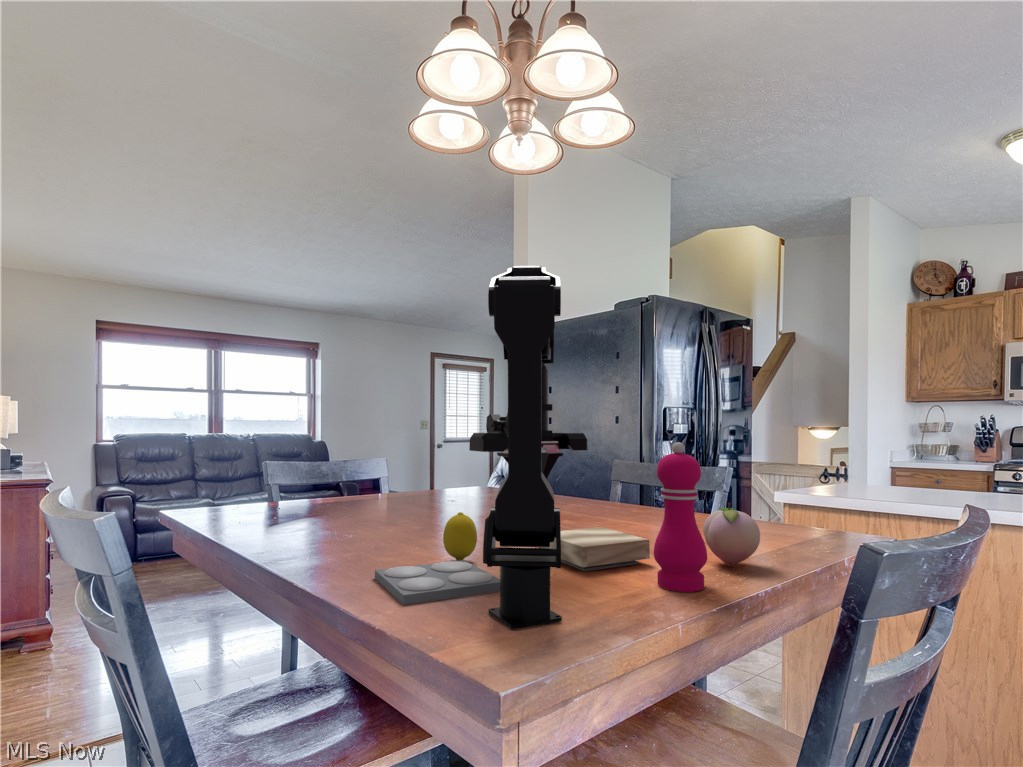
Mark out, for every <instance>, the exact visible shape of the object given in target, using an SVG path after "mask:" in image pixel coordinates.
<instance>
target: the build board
mask: <svg viewBox="0 0 1023 767" xmlns="http://www.w3.org/2000/svg"><path fill="white" fill-rule="evenodd" d="M374 579H375V580H376V581H377V582H378V583H379V584H380V585H381V586H382V587H383V588H384V587H385V588H384V589H386V591H388V593H390V595H391V596H393V597H394V598H395V599H396V600H397V601H398V602H399V603H401V605H402V606H407V605H413V604H421V603H427V602H429V603H430V602H436V601H441V600H450V599H456V598H463V597H470V596H478V595H483V594H484V595H485V594H491V593H498V592H499V593H500V577H499V578H498V577H497V576H495V575H493V574H491V573H489V572H488V571H486V570H483V569H481V568H480V567H478V566H477V565H474V564H472V563H471V562H468V561H467V560H465V559H464V560H460V561H457V560H454V561H453V560H448V561H440V562H436V563H426V564H416V565H403V566H396V567H390V568H381V569H375V570H374Z"/></svg>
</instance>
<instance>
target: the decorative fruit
mask: <svg viewBox="0 0 1023 767" xmlns="http://www.w3.org/2000/svg"><path fill="white" fill-rule="evenodd" d="M702 533H703V536H704V537H703V538H704V539H705V542H706V543H705V544H706V545H707V547H708V548H709V550H710V551H711V552H712V553H713V554H714V556H715V557H717V558H718V559H720V560H721V561H722V562H723V563H724V564H725V565H727V566H730V567H732V566H734V565H737V564H738V563H742V562H743V561H746V560H747V559H749V558H750V557H751V556H752V555H754V554H755V553H756V551H757V550H758V548H759V546H760V542H761V531H760V528H759V526H758V524H757V522H756V521H755V519H754V518H752V517H751V516H750V515H749V514H747V512H743V511H741V510H740V511H739V510H736V509H734V508H732V507H731V503H730V502H727V507H720V509H718V510H716V511H713V512H712V513H710V514H709V515H708V516H707V518H706V519H705V521H704V524H703V527H702Z"/></svg>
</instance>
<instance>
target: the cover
mask: <svg viewBox="0 0 1023 767" xmlns="http://www.w3.org/2000/svg"><path fill="white" fill-rule="evenodd" d="M560 531H561V559H562V560H565V561H567V562H570V563H573V564H575V565H578V566H581V567H589V566H597V565H605V564H612V563H620V562H628V561H640V560H649V559H651V558H650V556H651V555H650V548H651V547H650V538H649V539H648V538H644V537H640V536H637V535H633V534H630V533H626V532H621V531H618V530H615V529H610V528H606V527H602V526H600V527H599V526H596V527H590V528H589V527H587V528H577V529H576V528H575V529H568V530H567V529H566V530H560ZM538 548H544V547H538ZM550 548H556V543H555V538H554V541H553V542H550Z"/></svg>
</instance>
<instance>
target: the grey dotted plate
mask: <svg viewBox="0 0 1023 767" xmlns="http://www.w3.org/2000/svg"><path fill="white" fill-rule="evenodd" d="M561 563H562V564H566V565H567V566H570V567H573V568H574V569H575V568H576V569H579V570H580V571H582V572H583V571H584V572H589V571H596V570H597V571H598V570H605V569H611V568H620V567H626V566H627V567H628V566H634V565H635V566H636V565H638V564H639V560H635V561H628V562H620V563H612V564H605V565H597V566H589V567H581V566H578V565H575V564H573V563H570V562H567V561H565V560H562V559H561Z"/></svg>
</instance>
